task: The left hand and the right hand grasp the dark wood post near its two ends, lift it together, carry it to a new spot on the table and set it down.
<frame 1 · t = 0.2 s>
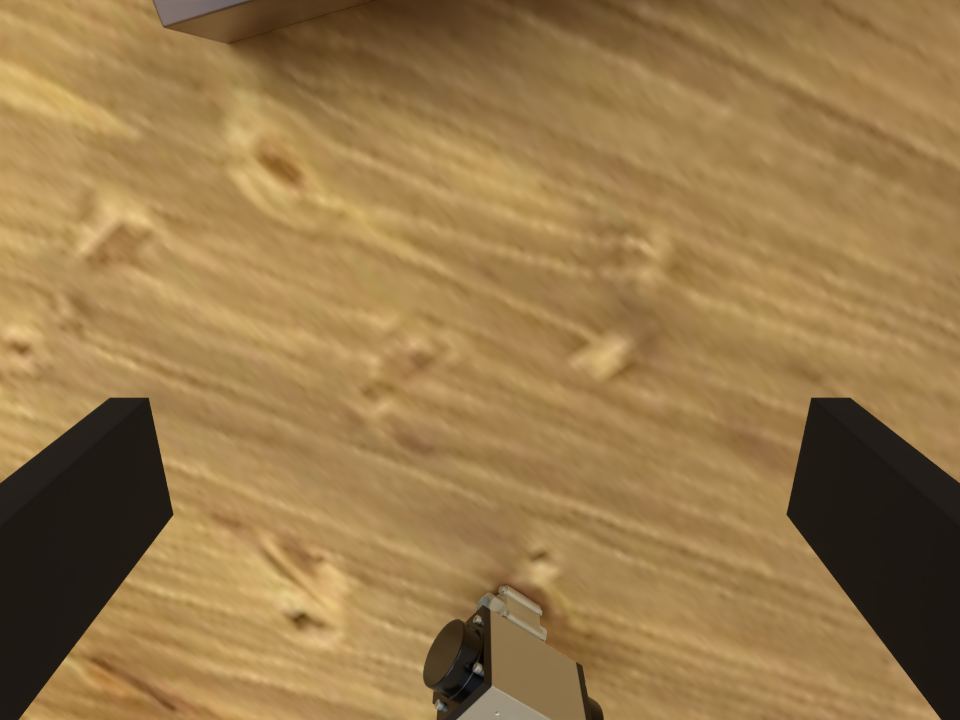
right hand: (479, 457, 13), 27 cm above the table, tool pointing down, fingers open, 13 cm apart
pneumatic valve: (506, 608, 49), on the table
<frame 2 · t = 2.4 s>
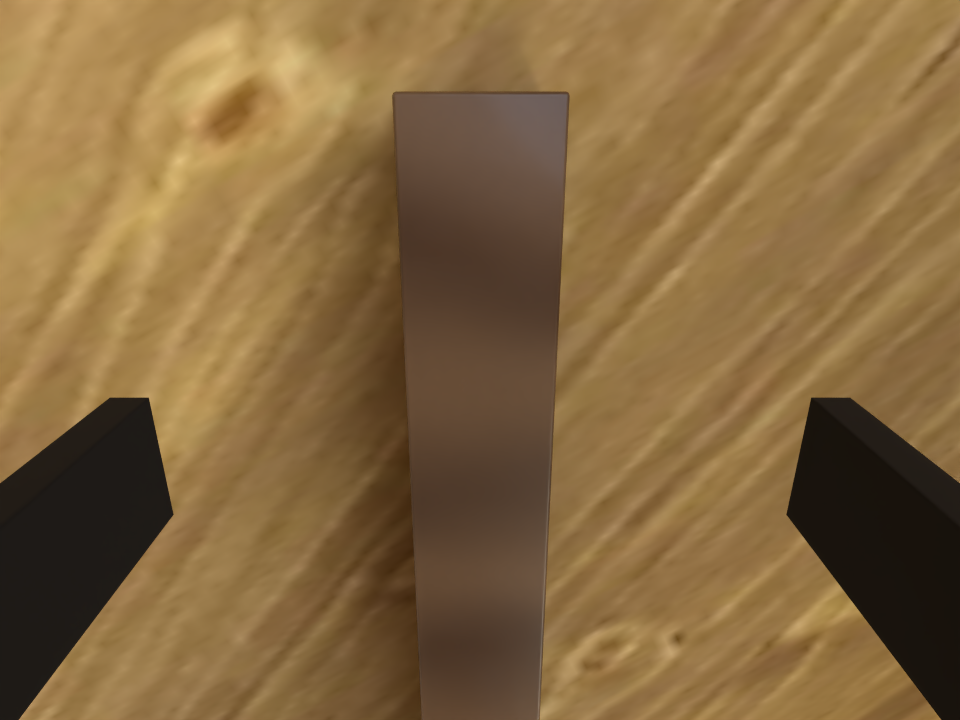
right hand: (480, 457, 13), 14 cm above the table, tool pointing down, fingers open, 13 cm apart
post: (480, 653, 33), on the table, touching left hand
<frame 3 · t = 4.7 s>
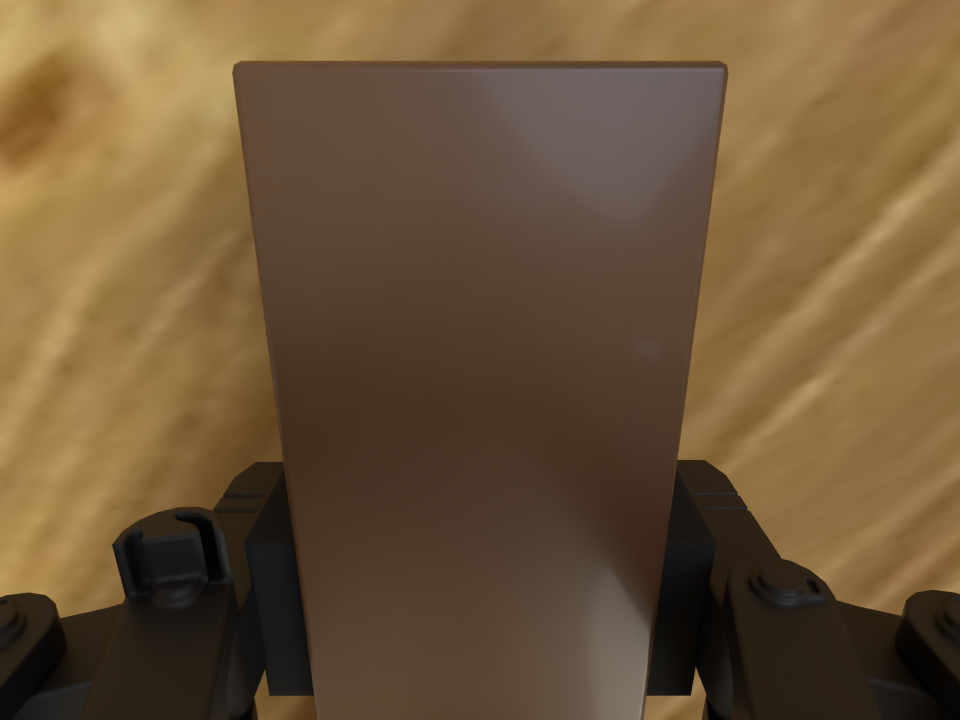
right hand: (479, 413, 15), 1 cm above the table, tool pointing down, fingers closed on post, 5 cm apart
when the right hand's fingers open (2 cm above the table, at t = 12.2 s): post drops 1 cm, on the table.
when the left hand's fingers open (4 cm above the table, at t = 12.4 s): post stays where it is, on the table.
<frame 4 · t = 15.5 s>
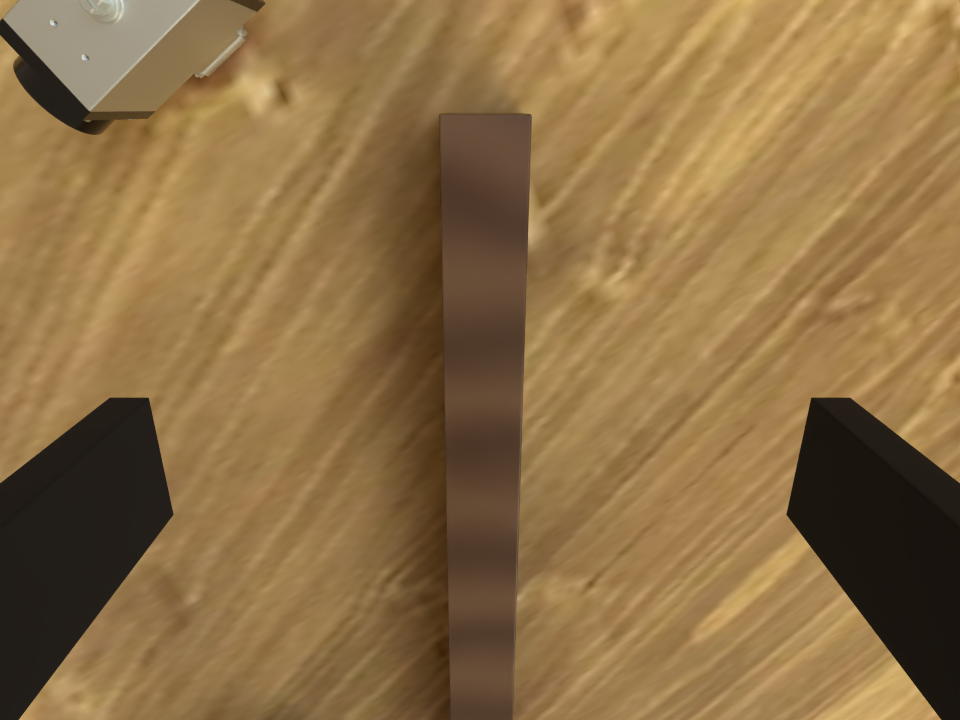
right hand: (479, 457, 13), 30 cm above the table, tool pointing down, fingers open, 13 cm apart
pneumatic valve: (204, 27, 37), on the table
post: (482, 492, 48), on the table
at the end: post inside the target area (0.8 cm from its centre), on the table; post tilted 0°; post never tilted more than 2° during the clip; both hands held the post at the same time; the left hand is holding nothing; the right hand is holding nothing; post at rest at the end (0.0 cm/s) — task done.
